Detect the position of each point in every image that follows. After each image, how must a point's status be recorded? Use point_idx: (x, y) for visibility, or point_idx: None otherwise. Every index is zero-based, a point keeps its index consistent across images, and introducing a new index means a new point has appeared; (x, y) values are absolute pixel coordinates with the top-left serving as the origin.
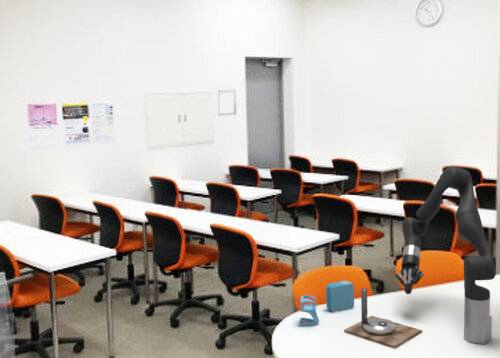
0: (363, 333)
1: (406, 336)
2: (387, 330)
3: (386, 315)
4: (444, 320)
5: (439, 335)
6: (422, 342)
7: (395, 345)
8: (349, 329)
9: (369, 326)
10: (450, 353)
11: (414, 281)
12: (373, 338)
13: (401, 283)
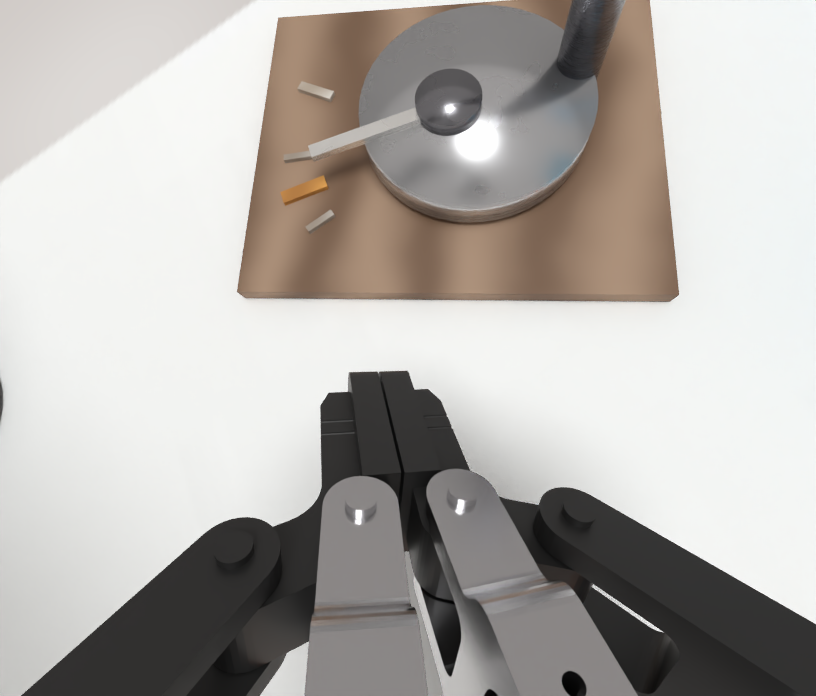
0: None
1: (279, 150)
2: (374, 64)
3: (615, 421)
4: None
5: (139, 327)
6: (192, 179)
7: (279, 24)
8: (624, 13)
9: (505, 32)
10: (31, 160)
11: (203, 558)
12: (424, 14)
13: (569, 493)
